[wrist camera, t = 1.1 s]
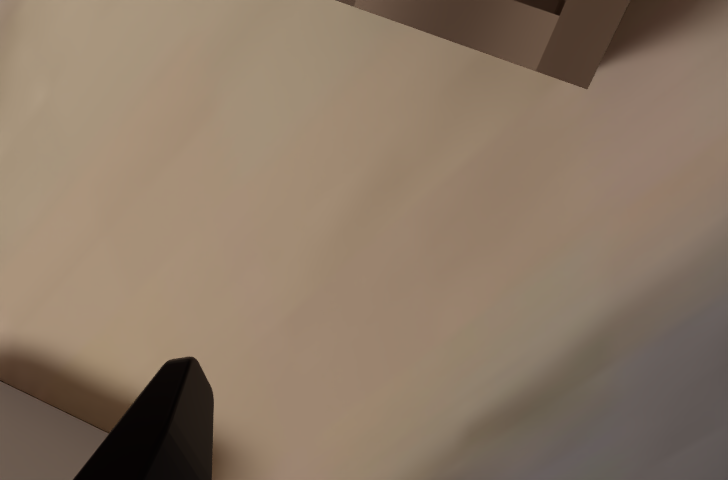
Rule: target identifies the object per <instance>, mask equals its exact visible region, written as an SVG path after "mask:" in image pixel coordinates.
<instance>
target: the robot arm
mask: <svg viewBox="0 0 728 480" xmlns="http://www.w3.org/2000/svg"><path fill="white" fill-rule="evenodd" d="M213 411H214V398H213V392H212V388H211V386H210V384H209V382H208V380H207V378H206V376H205V374H204V372H203V370H202V368H201V366H200V364H199V362H198V361H197V359H195V358H194V357H184V358H177V359H172V360H169V361H167V362H166V363H165V364H164V365H163V366H162V367H161V368H160V370H159V371H158V372H157V373H156V375H155V376H154V377H153V379H152V380H151V381H150V382H149V384H148V385H147V386H146V387H145V389H144V390H143V391H142V392H141V394H140V395H139V396H138V398H137V399H136V400H135V401H134V403H133V404H132V405H131V406H130V408H129V409H128V410H127V411H126V413H125V414H124V415H123V417H122V418H121V419H120V420H119V422H118V423H117V424H116V425H115V427H114V428H113V429H112V430H111V432H110V433H109V434H108V436H107V437H106V438H105V439H104V441H103V442H102V443H101V444H100V446H99V447H98V448H97V449H96V451H95V452H94V453H93V454H92V456H91V457H90V458H89V460H88V461H87V462H86V463H85V465H84V466H83V467H82V468H81V470H80V471H79V472H78V473H77V475H76V476H75V477H74V479H73V480H212V448H213Z"/></svg>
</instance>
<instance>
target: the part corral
mask: <svg viewBox="0 0 728 480" xmlns="http://www.w3.org/2000/svg"><path fill="white" fill-rule="evenodd" d="M108 434H109V433H106V432H104V431H102V430H100V429H98V428H96V427H94V426H92V425H90V424H88V423H86V422H84V421H82V420H80V419H77V418H75V417H73V416H71V415H69V414H67V413H65V412H63V411H61V410H59V409H57V408H55V407H53V406H51V405H49V404H46V403H44V402H42V401H40V400H38V399H36V398H34V397H32V396H30V395H28V394H26V393H24V392H22V391H20V390H18V389H15V388H13V387H11V386H9V385H7V384H5V383H3V382H1V381H0V480H73V479H74V477H75V476H76V475H77V473H78V472H79V471H80V470H81V468H82V467H83V466H84V465H85V463H86V462H87V461H88V460H89V458H90V457H91V456H92V454H93V453H94V452H95V451H96V449H97V448H98V447H99V446H100V444H101V443H102V442H103V441H104V439H105V438H106V437H107V436H108Z"/></svg>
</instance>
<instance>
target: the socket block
mask: <svg viewBox="0 0 728 480" xmlns="http://www.w3.org/2000/svg"><path fill="white" fill-rule="evenodd" d="M337 1H339V2H342V3H345V4H348V5H351V6H354V7H356V8H359V9H362V10H365V11H368V12H370V13H373V14H376V15H379V16H382V17H385V18H387V19H390V20H393V21H396V22H399V23H401V24H404V25H407V26H410V27H413V28H416V29H418V30H421V31H424V32H427V33H430V34H433V35H435V36H438V37H441V38H444V39H447V40H449V41H452V42H455V43H458V44H461V45H464V46H466V47H469V48H472V49H475V50H478V51H480V52H483V53H486V54H489V55H492V56H495V57H497V58H500V59H503V60H506V61H509V62H512V63H514V64H517V65H520V66H523V67H526V68H528V69H531V70H534V71H537V72H540V73H543V74H545V75H548V76H551V77H554V78H557V79H559V80H562V81H565V82H568V83H571V84H574V85H576V86H579V87H582V88H585V89H588V87H589V85H590V83H591V81H592V78H593V76H594V74H595V72H596V70H597V68H598V66H599V64H600V62H601V60H602V58H603V56H604V54H605V52H606V50H607V47H608V45H609V43H610V41H611V39H612V37H613V35H614V33H615V31H616V29H617V27H618V25H619V23H620V21H621V19H622V16H623V14H624V12H625V10H626V8H627V6H628V4H629V2H630V0H337Z"/></svg>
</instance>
